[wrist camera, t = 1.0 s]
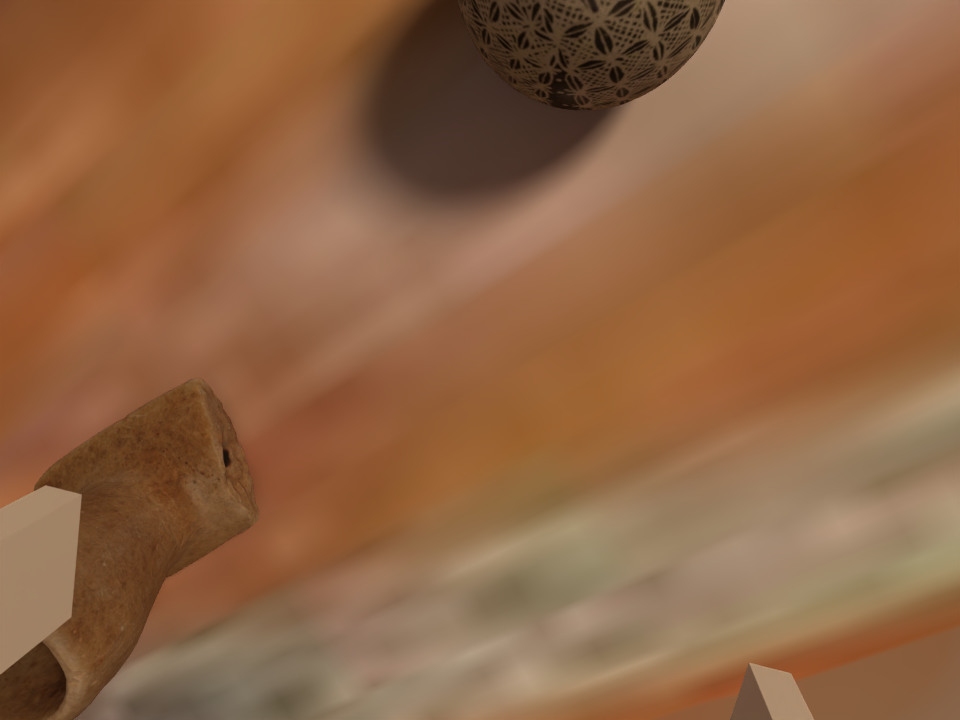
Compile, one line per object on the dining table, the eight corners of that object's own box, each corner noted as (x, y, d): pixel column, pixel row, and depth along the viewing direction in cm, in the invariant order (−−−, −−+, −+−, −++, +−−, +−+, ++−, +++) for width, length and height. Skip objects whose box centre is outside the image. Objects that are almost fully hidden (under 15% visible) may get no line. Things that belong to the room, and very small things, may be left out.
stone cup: (130, 622, 47) (-64, 801, 33) (31, 472, 46) (-217, 590, 31) (314, 529, 44) (191, 680, 30) (214, 366, 43) (35, 441, 28)
